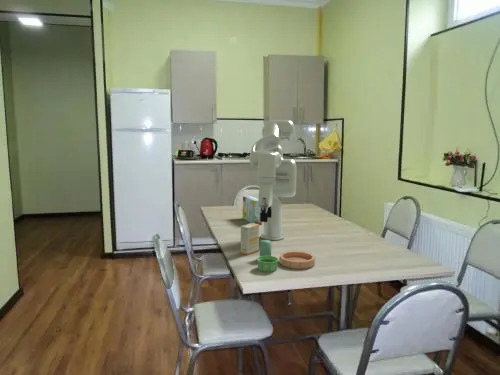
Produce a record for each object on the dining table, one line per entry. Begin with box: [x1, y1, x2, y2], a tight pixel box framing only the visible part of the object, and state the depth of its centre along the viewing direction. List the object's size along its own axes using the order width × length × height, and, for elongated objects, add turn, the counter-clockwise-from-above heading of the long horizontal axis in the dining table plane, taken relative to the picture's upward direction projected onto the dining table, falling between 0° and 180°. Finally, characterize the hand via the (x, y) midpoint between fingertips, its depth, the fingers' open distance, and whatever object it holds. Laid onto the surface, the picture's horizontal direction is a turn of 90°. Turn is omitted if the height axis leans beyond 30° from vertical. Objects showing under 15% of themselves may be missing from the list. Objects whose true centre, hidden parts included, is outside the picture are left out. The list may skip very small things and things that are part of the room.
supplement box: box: [240, 222, 260, 256], centre depth 190 cm, size 8×5×13 cm, turn 141°
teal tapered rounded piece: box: [259, 239, 272, 257], centre depth 181 cm, size 5×5×8 cm
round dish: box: [278, 250, 316, 270], centre depth 175 cm, size 15×15×3 cm
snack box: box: [242, 195, 263, 226], centre depth 255 cm, size 21×6×15 cm, turn 22°
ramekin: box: [256, 255, 279, 273], centre depth 168 cm, size 9×9×4 cm
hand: (265, 219), depth 178 cm, fingers open, 9 cm apart
